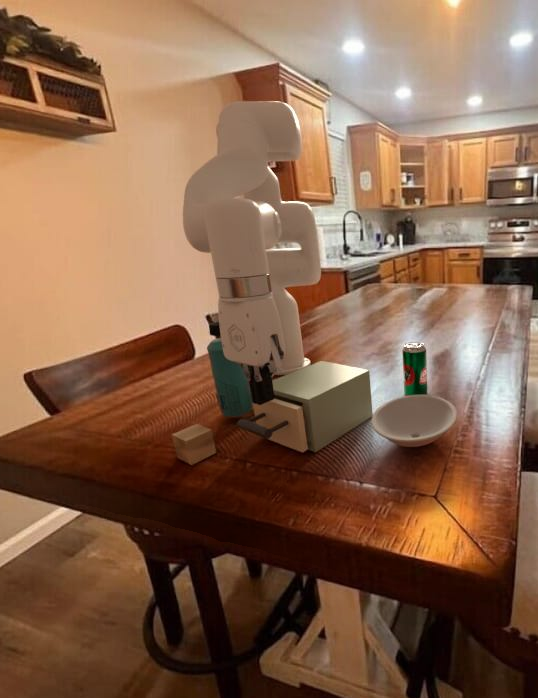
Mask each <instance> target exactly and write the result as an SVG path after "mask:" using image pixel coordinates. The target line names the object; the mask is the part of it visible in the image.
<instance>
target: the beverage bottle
mask: <svg viewBox="0 0 538 698" xmlns="http://www.w3.org/2000/svg"><path fill="white" fill-rule="evenodd" d="M208 329H209V332H208V333H209V335H210V336H214V337H218V338H215V339H212V340H211V341H210V342H209V343H208V345H207V347H206V350H207V353H208V358H209V363H210V368H211V373H212V378H213V383H214V388H215V391H216V392H215V393H216V394H215V395H216V399H217V403H218V407H219V408H218V409H219V412H220V413H221V414H222V416H225V417H231V418H232V417H238V416H242V415H245V414H248V413H249V412H251V411H252V410H253V409H254V407H253V402H252V397H251V392H250V386H249V380H248V379H247V378H246V376H245V372H244V369H243V368H242V366H240V365H239V364H237V363H235V362H233V361H230V360H228V359H227V358H226V357H225V356H224V353H223V348H222V342H221V334H220V327H219V321H214V322H211V323H209V324H208ZM219 336H220V337H219Z"/></svg>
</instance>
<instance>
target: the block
mask: <svg viewBox="0 0 538 698" xmlns="http://www.w3.org/2000/svg"><path fill="white" fill-rule="evenodd" d="M171 439H172V442H173V446H174V450H175V453H176V458H177V459H179V460H181V461H183V462H185V463H187V464H188V465H190V466H193V465H195V464H197V463H199V462H201V461H203V460H205V459H207V458H209V457H211V456H213V455H215V454H217V449H216V445H215V440H214V435H213V430H212V429H210V428H208V427H205V426H203V425H200V424H199V423H196V424H193V425H191V426H188V427H186V428H183V429H181V430H179V431H177V432H174V433H171Z"/></svg>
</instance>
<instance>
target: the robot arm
mask: <svg viewBox="0 0 538 698" xmlns="http://www.w3.org/2000/svg"><path fill="white" fill-rule="evenodd" d="M215 133H216V138H217V147H216V148H217V150H216V151H217V152H216V155H214V156H213V157H212V158H210V159H209V160H208V161H207V162H205V163H203V165H202V166H200V167H199V168H198V169H197V170H196V171H195V172H193V174H192V175H191V176H190V177H189V179H188V181H187V182H186V184H185V187H184V194H183V205H182V226H183V232H184V235H185V238H186V240H187V242H188V243H189V245H190V246H191V247H192V248H193V249H194V250H196V251H198V252H200V253H205V254H210V255H211V261H212V265H213V272H214V276H215V282H216V288H217V294H218V301H217V302H218V303H217V309H218V311H217V313H218V314H217V315H218V322H219V327H220V334H221V335H220V338H221V342H222V348H223V353H224V356H225V357H226V358H227V359H228V360H230V361H233V362H235V363H237V364H239V365H240V366H242V368H243V369H244V372H245V376H246V378H247V379H248V382H249V387H250V392H251V398H252V403H254V404H258V405H262V404H264V403H267V402H269V401H271V400H273V399H274V398H275V396H274V389H273V383H272V380H273V377H274V376H285V375H287V374H290V373H292V372H295V371H297V370H300V369H302V368H305V367H307V366H310V365H312V364H311V363H312V362H311V360H310V359H309V358H307V357H305V353H304V346H303V338H302V331H301V323H300V315H299V308H298V307H299V306H298V303H297V301H296V299H295V298H294V296H293V295H291V293H289V292H288V290H287V289H285V288H290V287H302V286H303V287H305V286H313V285H316V284H318V283H319V282H320V280H321V278H322V266H321V257H320V249H319V240H318V239H319V238H318V231H317V224H316V218H315V214H314V211H313V208H312V207H311V206H310V204H308V203H306V202H304V201H283V199H282V196H281V189H280V188H281V187H280V182H279V178H278V176H276V174H275V173H274V172H273V171H272V169H271V167H269V162H270V163H271V162H272V163H273V162H295V161H297V160H299V159H300V157H301V156H302V153H303V137H302V131H301V126H300V122H299V119H298V116H297V114H296V113H295V110H294V109H293V108H292V106H290V105H289V104H288V103H285V102H284V101H283V102H282V101H274V100H272V101H270V100H268V101H266V100H265V101H263V100H262V101H261V100H259V101H257V100H252V101H251V100H238V101H232V102H229V103H227V104H226V105H224V106H223V107H222V108H221V110H220V111H219V114H218V122H217V123H216V127H215ZM239 196H243V197H242V198H241V197H239ZM277 244H298V245H299V246H300V247H293V248H274V247H275V246H277Z"/></svg>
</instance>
